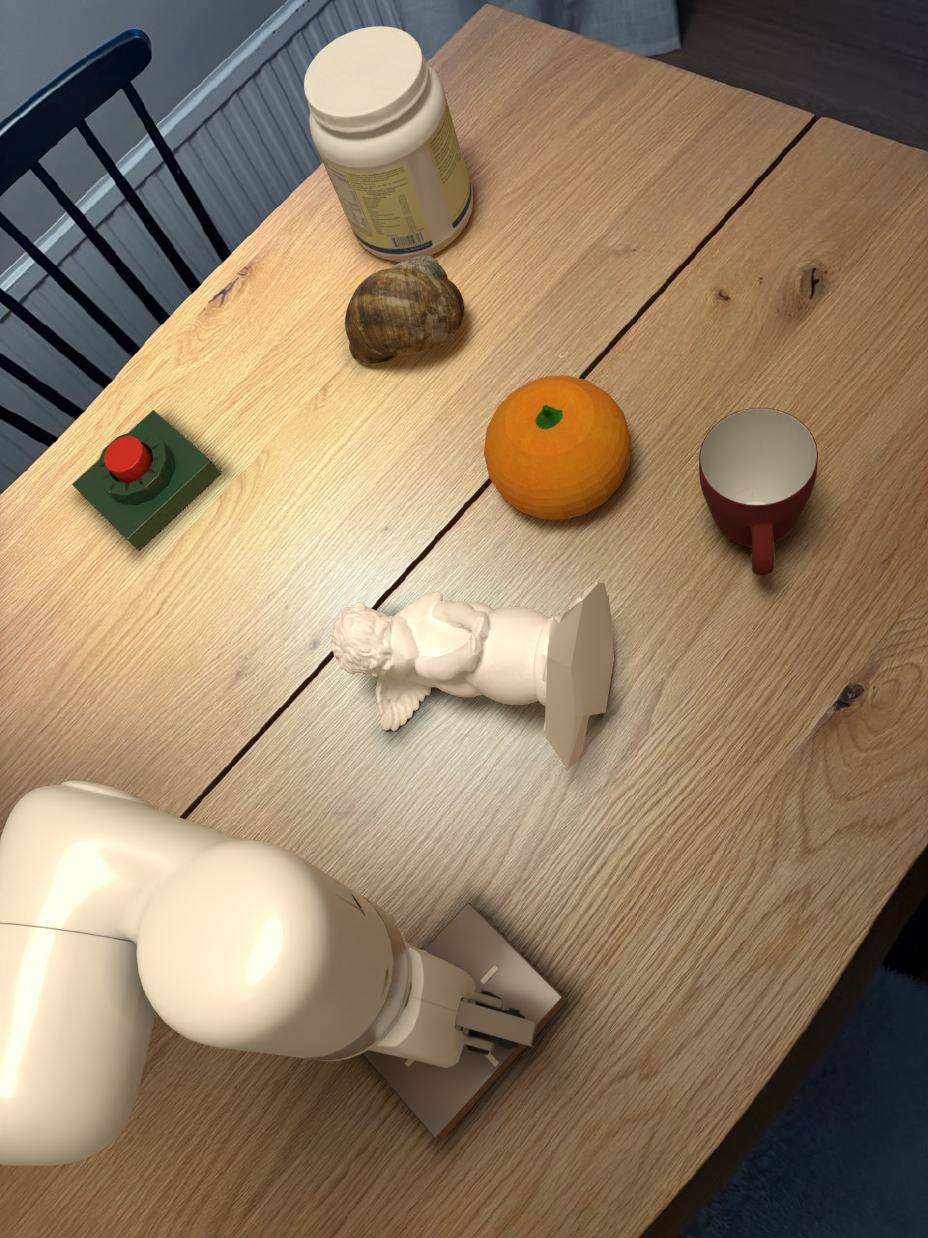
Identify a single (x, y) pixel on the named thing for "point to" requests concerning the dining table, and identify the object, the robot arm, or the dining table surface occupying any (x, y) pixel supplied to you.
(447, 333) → the seashell
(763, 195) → the dining table surface
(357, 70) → the supplement tub
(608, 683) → the angel figurine
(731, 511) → the mug
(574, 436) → the fruit
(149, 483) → the box
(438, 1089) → the dial panel
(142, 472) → the button
